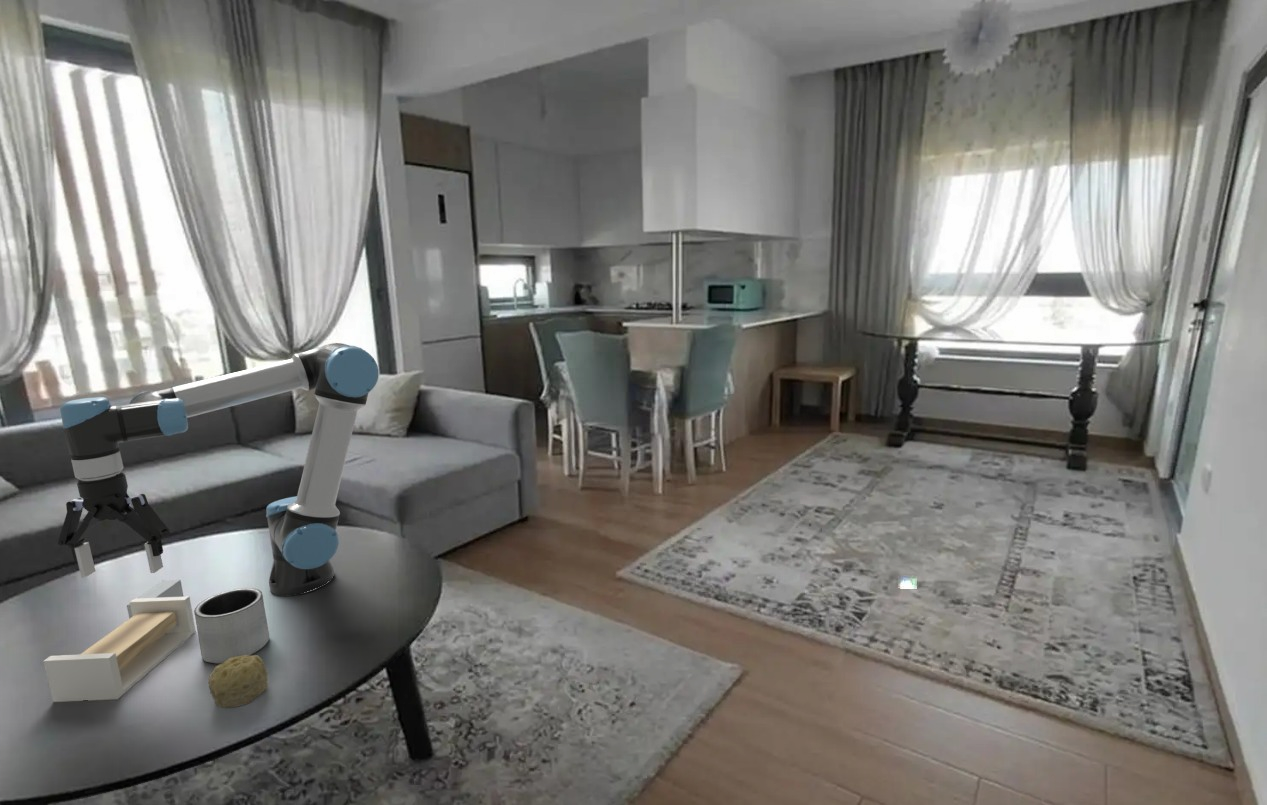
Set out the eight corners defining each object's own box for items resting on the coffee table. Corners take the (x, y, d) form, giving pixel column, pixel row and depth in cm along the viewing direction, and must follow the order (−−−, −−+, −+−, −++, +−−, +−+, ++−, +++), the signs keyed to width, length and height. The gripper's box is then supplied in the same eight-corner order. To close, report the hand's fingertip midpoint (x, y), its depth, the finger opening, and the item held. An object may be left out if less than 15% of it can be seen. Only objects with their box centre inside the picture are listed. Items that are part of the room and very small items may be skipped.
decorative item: (251, 695, 125) (213, 663, 123) (288, 666, 125) (250, 633, 123) (226, 729, 116) (184, 695, 114) (265, 698, 116) (224, 663, 113)
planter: (197, 673, 127) (188, 623, 125) (206, 642, 138) (198, 596, 136) (268, 655, 133) (261, 607, 130) (271, 626, 144) (264, 582, 141)
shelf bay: (195, 631, 142) (189, 596, 141) (117, 699, 120) (108, 657, 118) (141, 633, 142) (134, 598, 140) (53, 702, 119) (43, 660, 117)
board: (176, 623, 139) (174, 611, 138) (114, 674, 121) (111, 660, 121) (139, 625, 139) (137, 613, 138) (72, 676, 121) (68, 662, 120)
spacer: (183, 597, 158) (180, 579, 157) (149, 623, 146) (146, 604, 145) (166, 598, 158) (162, 580, 157) (130, 624, 146) (126, 605, 145)
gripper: (177, 465, 129) (196, 559, 134) (51, 472, 128) (74, 567, 132) (152, 477, 122) (173, 576, 127) (18, 485, 121) (44, 585, 125)
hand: (123, 572), depth 129 cm, fingers open, 13 cm apart
